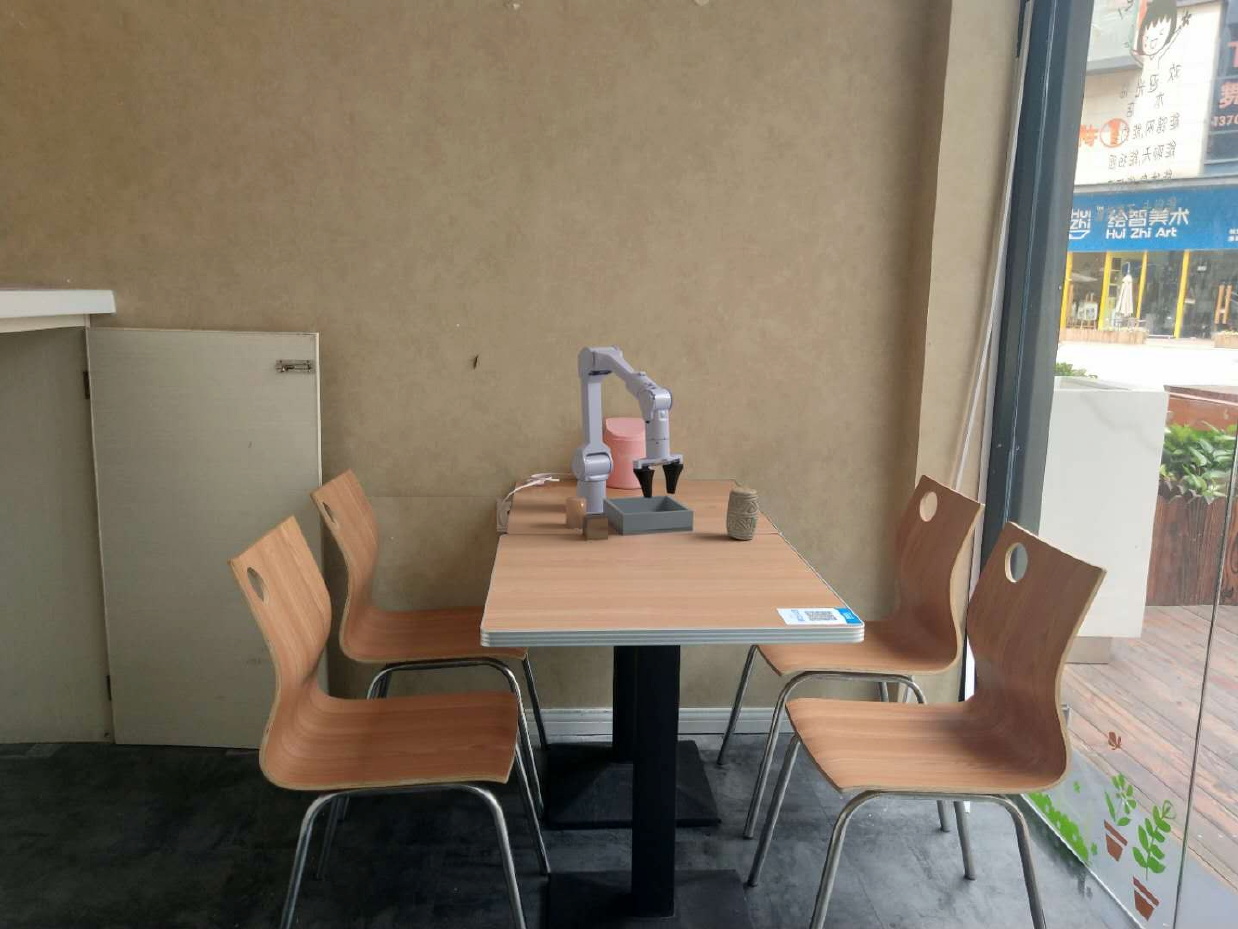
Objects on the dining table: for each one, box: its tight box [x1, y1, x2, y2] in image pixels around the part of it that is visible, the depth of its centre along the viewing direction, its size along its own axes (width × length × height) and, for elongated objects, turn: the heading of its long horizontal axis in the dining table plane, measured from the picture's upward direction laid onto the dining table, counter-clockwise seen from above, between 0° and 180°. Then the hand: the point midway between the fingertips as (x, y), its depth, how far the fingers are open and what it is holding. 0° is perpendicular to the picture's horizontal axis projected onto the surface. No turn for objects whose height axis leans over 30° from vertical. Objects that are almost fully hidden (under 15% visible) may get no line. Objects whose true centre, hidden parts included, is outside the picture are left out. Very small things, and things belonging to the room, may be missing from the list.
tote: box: [603, 494, 694, 536], centre depth 228 cm, size 18×18×5 cm
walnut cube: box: [581, 514, 609, 541], centre depth 216 cm, size 5×5×5 cm
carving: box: [725, 486, 759, 541], centre depth 216 cm, size 6×8×12 cm
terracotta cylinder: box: [565, 496, 586, 529], centre depth 225 cm, size 5×5×7 cm
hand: (659, 495), depth 216 cm, fingers open, 7 cm apart
